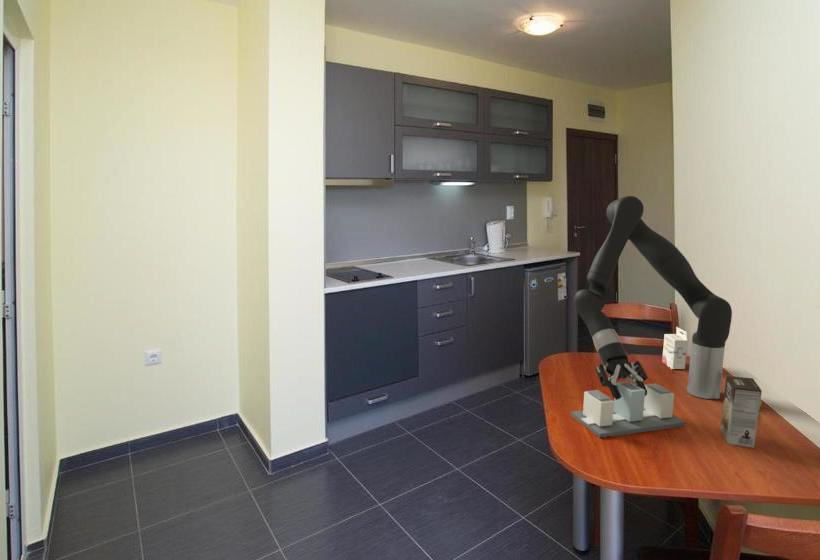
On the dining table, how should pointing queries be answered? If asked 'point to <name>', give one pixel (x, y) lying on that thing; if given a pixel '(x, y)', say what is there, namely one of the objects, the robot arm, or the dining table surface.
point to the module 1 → (598, 407)
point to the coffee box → (740, 411)
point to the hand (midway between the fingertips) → (631, 397)
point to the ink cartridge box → (675, 349)
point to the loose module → (629, 401)
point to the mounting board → (629, 424)
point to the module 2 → (659, 401)
